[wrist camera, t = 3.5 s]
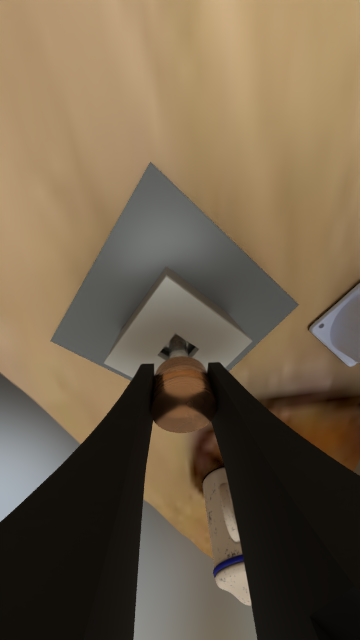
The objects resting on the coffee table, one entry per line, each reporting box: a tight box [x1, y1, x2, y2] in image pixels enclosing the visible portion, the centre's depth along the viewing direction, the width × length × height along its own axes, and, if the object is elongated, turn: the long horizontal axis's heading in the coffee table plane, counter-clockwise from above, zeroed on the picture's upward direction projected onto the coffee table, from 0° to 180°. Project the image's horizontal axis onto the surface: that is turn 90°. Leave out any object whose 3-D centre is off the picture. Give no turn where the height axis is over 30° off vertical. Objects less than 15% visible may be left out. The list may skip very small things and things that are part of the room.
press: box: [51, 162, 299, 380], centre depth 14 cm, size 16×16×5 cm
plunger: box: [151, 334, 217, 433], centre depth 10 cm, size 5×5×6 cm
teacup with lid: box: [203, 467, 253, 611], centre depth 22 cm, size 12×9×12 cm
